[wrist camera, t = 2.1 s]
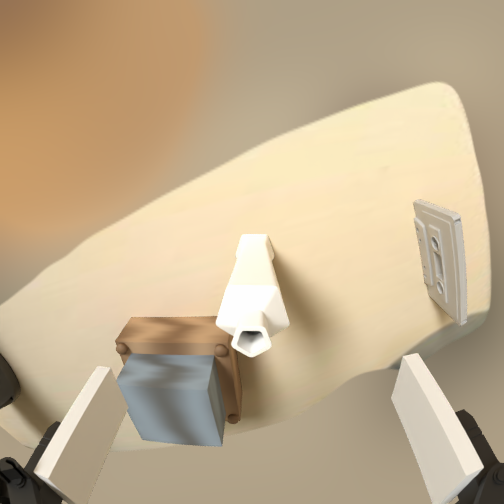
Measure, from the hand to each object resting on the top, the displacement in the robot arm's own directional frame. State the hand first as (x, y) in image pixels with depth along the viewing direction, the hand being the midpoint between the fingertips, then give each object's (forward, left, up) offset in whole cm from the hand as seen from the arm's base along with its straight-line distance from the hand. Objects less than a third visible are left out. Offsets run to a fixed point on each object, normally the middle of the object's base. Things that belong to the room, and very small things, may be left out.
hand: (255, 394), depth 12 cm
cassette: (+19, -1, -19) cm, 27 cm away
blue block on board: (-9, -13, -19) cm, 25 cm away
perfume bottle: (0, 0, -19) cm, 19 cm away
